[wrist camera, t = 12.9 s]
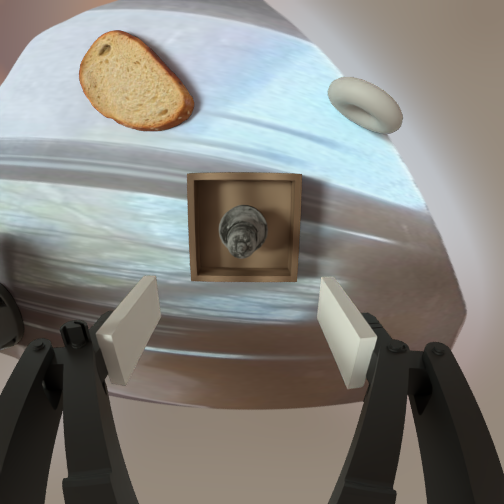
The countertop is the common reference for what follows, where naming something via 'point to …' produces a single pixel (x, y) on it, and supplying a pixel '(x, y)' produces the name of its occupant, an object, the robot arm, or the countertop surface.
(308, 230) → the countertop surface
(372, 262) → the countertop surface
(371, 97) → the donut
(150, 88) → the slice of bread
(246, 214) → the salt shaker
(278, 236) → the box
